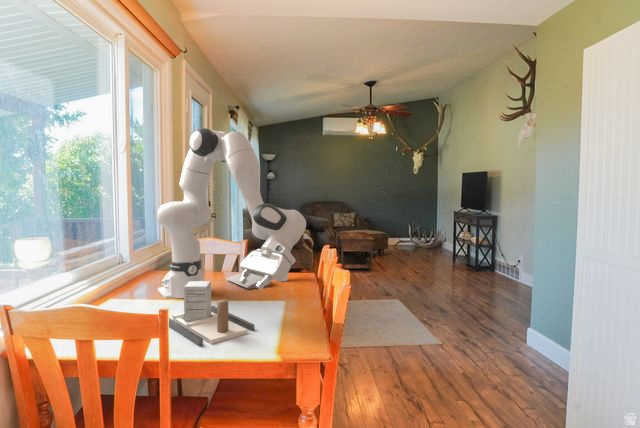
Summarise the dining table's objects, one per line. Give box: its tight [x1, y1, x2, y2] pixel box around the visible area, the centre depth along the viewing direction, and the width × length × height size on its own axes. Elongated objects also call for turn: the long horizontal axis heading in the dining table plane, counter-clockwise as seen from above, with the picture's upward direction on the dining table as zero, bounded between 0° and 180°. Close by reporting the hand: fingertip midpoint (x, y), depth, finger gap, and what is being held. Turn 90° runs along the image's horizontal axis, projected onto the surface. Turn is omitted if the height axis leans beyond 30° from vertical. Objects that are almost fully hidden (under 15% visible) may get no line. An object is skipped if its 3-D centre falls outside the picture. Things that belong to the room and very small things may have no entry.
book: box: [226, 272, 271, 290], centre depth 176 cm, size 15×23×4 cm, turn 39°
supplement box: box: [183, 280, 212, 323], centre depth 123 cm, size 7×7×13 cm
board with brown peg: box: [172, 299, 248, 345], centre depth 118 cm, size 26×12×10 cm, turn 44°
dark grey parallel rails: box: [168, 305, 255, 347], centre depth 119 cm, size 26×18×2 cm
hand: (249, 285), depth 117 cm, fingers open, 8 cm apart
